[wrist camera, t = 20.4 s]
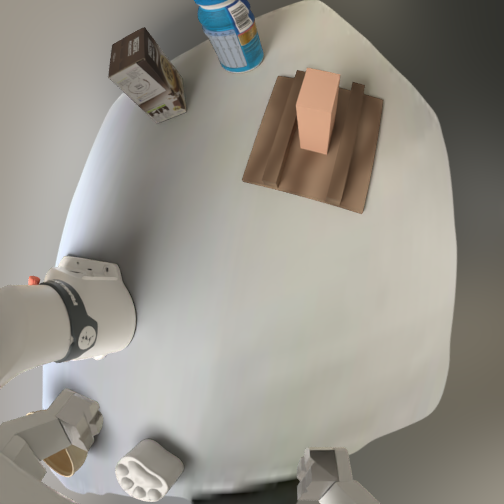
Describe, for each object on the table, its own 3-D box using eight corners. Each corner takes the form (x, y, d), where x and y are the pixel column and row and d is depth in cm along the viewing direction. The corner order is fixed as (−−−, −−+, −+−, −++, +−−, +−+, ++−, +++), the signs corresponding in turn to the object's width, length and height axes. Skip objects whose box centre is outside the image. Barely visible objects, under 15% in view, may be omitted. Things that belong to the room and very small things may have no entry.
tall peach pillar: (300, 148, 40) (295, 105, 28) (309, 115, 40) (307, 67, 28) (326, 154, 39) (331, 112, 27) (334, 121, 39) (340, 74, 27)
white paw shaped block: (189, 465, 41) (171, 491, 32) (164, 491, 42) (146, 513, 33) (145, 432, 43) (121, 453, 35) (125, 462, 44) (103, 481, 35)
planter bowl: (106, 429, 45) (74, 450, 34) (98, 468, 45) (72, 488, 34) (56, 386, 48) (23, 398, 38) (53, 428, 48) (25, 442, 38)
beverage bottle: (223, 80, 45) (182, 2, 25) (218, 51, 45) (182, -21, 26) (269, 69, 43) (245, -16, 23) (260, 41, 44) (236, -37, 24)
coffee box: (188, 111, 45) (144, 58, 30) (156, 124, 46) (106, 79, 31) (183, 77, 46) (145, 25, 31) (154, 89, 47) (110, 43, 32)
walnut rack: (243, 181, 42) (237, 174, 39) (278, 79, 43) (276, 67, 39) (361, 213, 39) (365, 208, 35) (382, 103, 39) (386, 91, 35)
